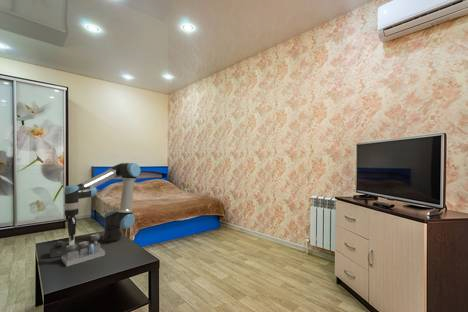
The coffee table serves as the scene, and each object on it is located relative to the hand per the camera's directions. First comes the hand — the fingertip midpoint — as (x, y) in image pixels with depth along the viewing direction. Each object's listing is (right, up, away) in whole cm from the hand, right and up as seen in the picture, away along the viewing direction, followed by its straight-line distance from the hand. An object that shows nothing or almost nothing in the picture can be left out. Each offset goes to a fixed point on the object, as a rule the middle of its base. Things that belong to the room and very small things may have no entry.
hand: (71, 244), depth 147 cm
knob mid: (+5, -8, +5) cm, 10 cm away
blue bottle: (+11, -8, +4) cm, 14 cm away
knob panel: (+5, -11, +5) cm, 13 cm away
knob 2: (+9, -5, +10) cm, 15 cm away
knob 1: (0, -8, 0) cm, 8 cm away
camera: (-15, -12, +10) cm, 21 cm away
